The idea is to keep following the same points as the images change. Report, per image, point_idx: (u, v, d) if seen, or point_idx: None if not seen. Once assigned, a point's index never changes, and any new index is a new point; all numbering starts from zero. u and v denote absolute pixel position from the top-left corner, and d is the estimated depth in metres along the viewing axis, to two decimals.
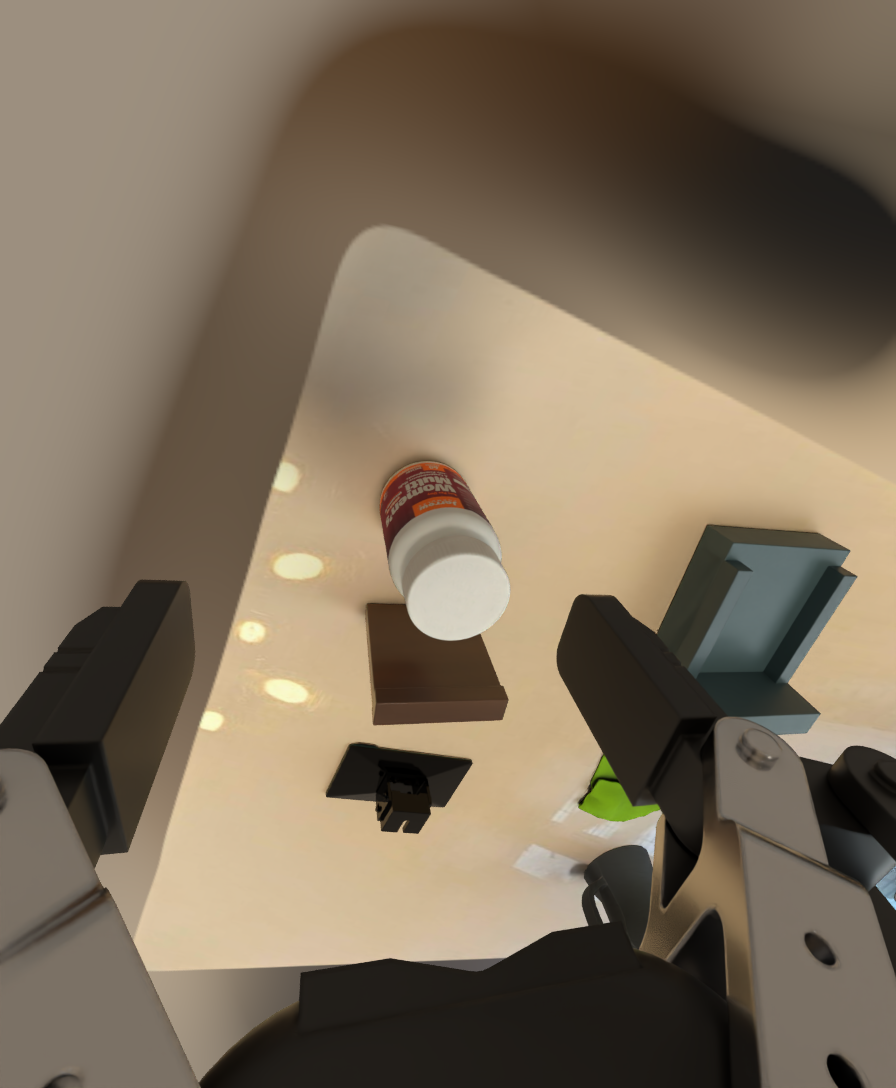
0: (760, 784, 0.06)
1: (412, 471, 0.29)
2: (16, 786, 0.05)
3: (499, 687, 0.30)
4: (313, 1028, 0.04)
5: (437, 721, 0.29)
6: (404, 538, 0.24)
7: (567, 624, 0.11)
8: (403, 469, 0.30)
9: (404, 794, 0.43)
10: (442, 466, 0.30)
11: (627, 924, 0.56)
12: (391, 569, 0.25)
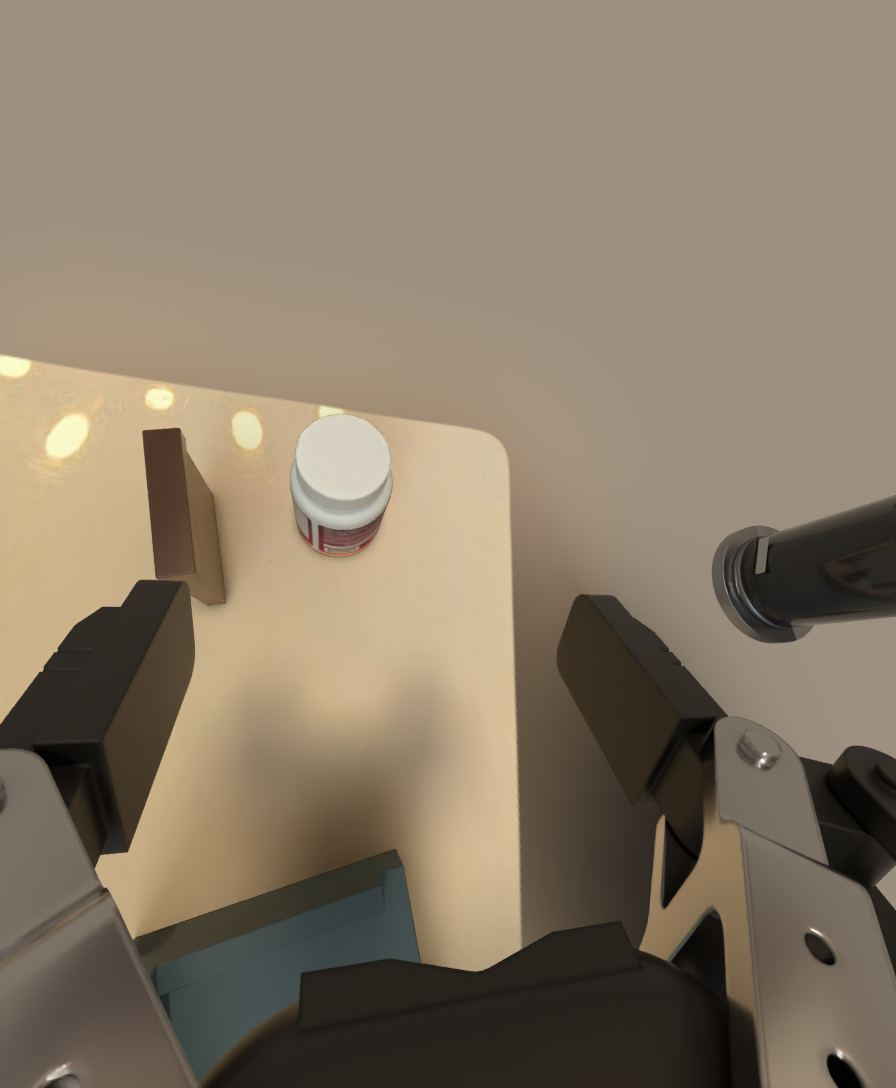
0: (760, 784, 0.06)
1: None
2: (16, 786, 0.05)
3: (199, 570, 0.25)
4: (313, 1029, 0.04)
5: (151, 497, 0.24)
6: None
7: (567, 624, 0.11)
8: None
9: None
10: None
11: None
12: None
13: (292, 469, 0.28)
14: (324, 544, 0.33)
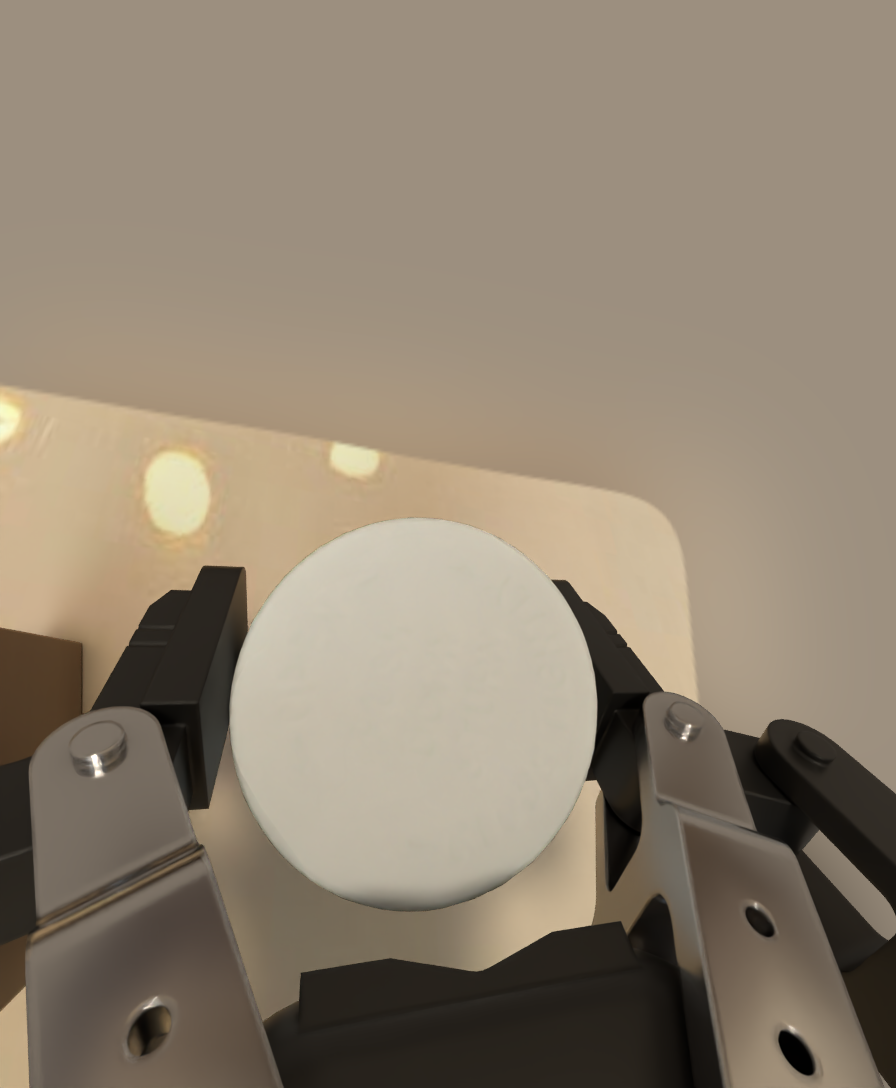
0: (688, 756, 0.07)
1: None
2: (136, 737, 0.06)
3: None
4: (313, 1028, 0.04)
5: None
6: None
7: None
8: None
9: None
10: None
11: None
12: None
13: None
14: None
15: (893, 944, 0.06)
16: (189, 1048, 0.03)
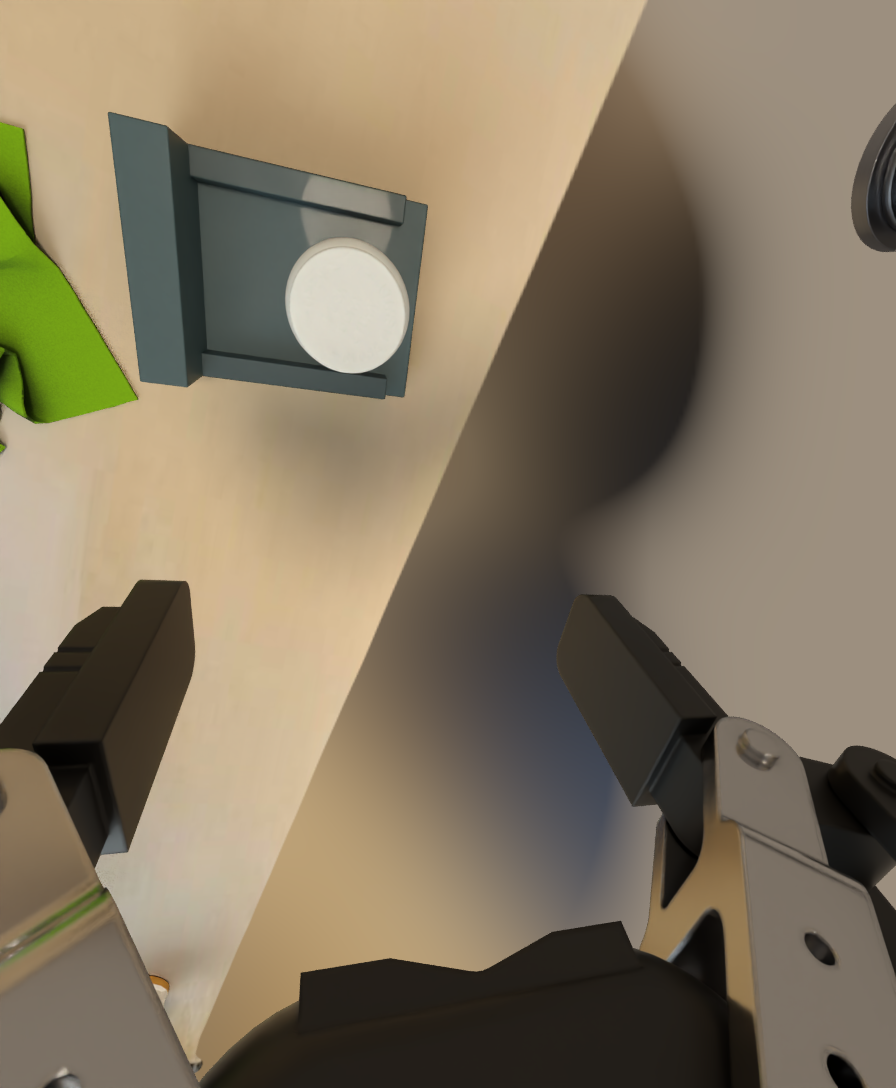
0: (760, 784, 0.06)
1: None
2: (16, 786, 0.05)
3: None
4: (312, 1029, 0.04)
5: None
6: (385, 257, 0.23)
7: (567, 624, 0.11)
8: None
9: None
10: None
11: None
12: (344, 238, 0.22)
13: (290, 280, 0.23)
14: None
15: None
16: None
